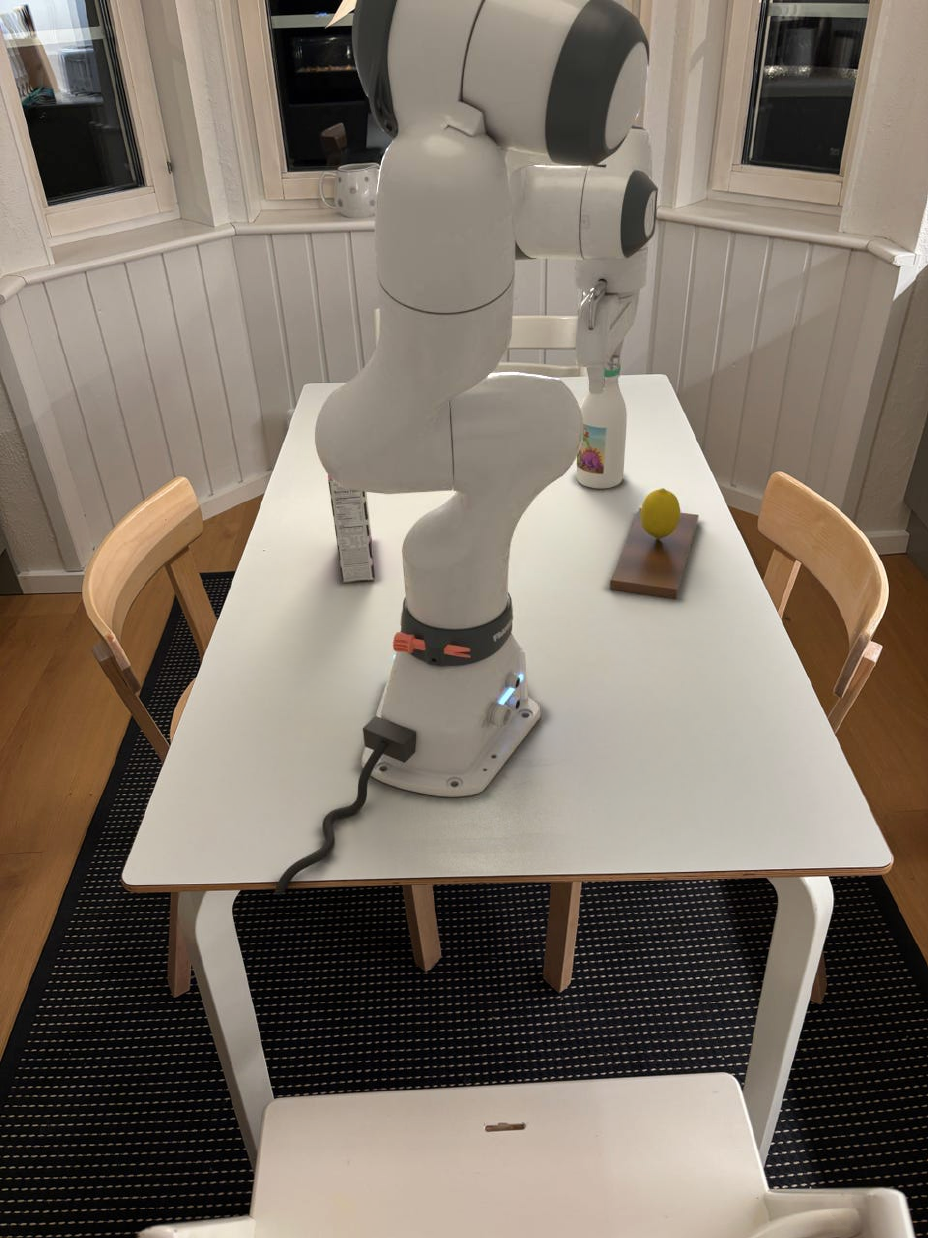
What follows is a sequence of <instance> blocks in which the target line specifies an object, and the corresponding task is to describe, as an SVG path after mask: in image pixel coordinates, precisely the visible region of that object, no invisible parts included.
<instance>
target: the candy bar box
mask: <svg viewBox="0 0 928 1238" xmlns="http://www.w3.org/2000/svg"><path fill="white" fill-rule="evenodd" d="M327 482H328V489H329V495H330V504H331V511H332V519H333V524H334V530H335V531H334V532H335V539H336V546H337V552H338V561H339V568H340V575H341V581H342V583H343V584H348V583H359V582H360V583H361V582H367V581H376V573H375V572H376V571H375V559H374V557H375V556H374V546H373V536H372V529H371V521H370V512H369V511H370V510H369V501H368V492H364V491H358V490H351V489H345V488H341V487H340V486H339V485H338V484H336V483H335V482H334V481H333V480H332V479H331V477H330V476H329V475H328V474H327Z"/></svg>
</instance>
